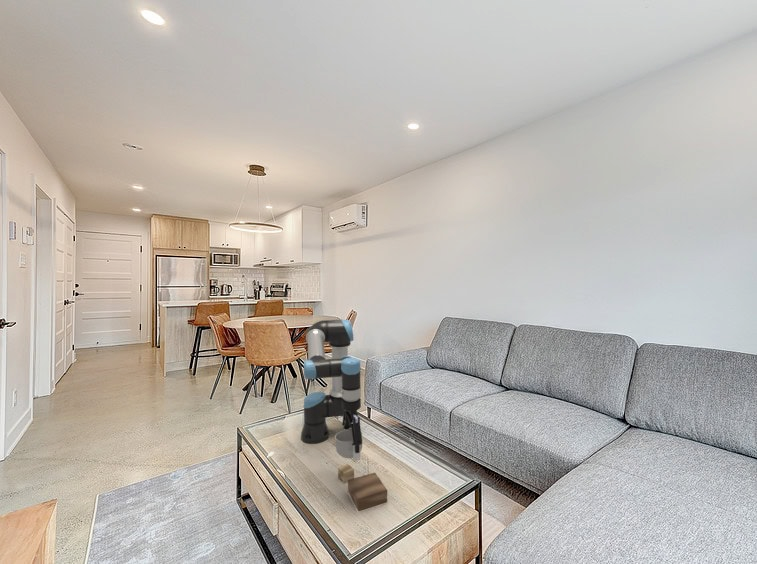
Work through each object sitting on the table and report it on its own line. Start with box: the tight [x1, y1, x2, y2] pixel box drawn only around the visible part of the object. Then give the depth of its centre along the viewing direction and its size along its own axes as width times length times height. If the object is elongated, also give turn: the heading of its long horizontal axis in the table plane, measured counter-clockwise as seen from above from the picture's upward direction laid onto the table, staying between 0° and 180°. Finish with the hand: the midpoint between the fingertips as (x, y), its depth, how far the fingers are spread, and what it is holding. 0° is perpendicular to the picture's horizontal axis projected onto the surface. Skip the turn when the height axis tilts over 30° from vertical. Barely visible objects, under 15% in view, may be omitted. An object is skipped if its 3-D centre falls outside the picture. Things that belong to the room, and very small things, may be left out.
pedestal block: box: [347, 472, 388, 513], centre depth 132 cm, size 12×12×5 cm
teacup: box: [334, 428, 363, 459], centre depth 132 cm, size 14×11×8 cm
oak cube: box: [337, 463, 355, 484], centre depth 144 cm, size 5×5×5 cm
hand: (351, 452), depth 132 cm, fingers closed on teacup, 11 cm apart
